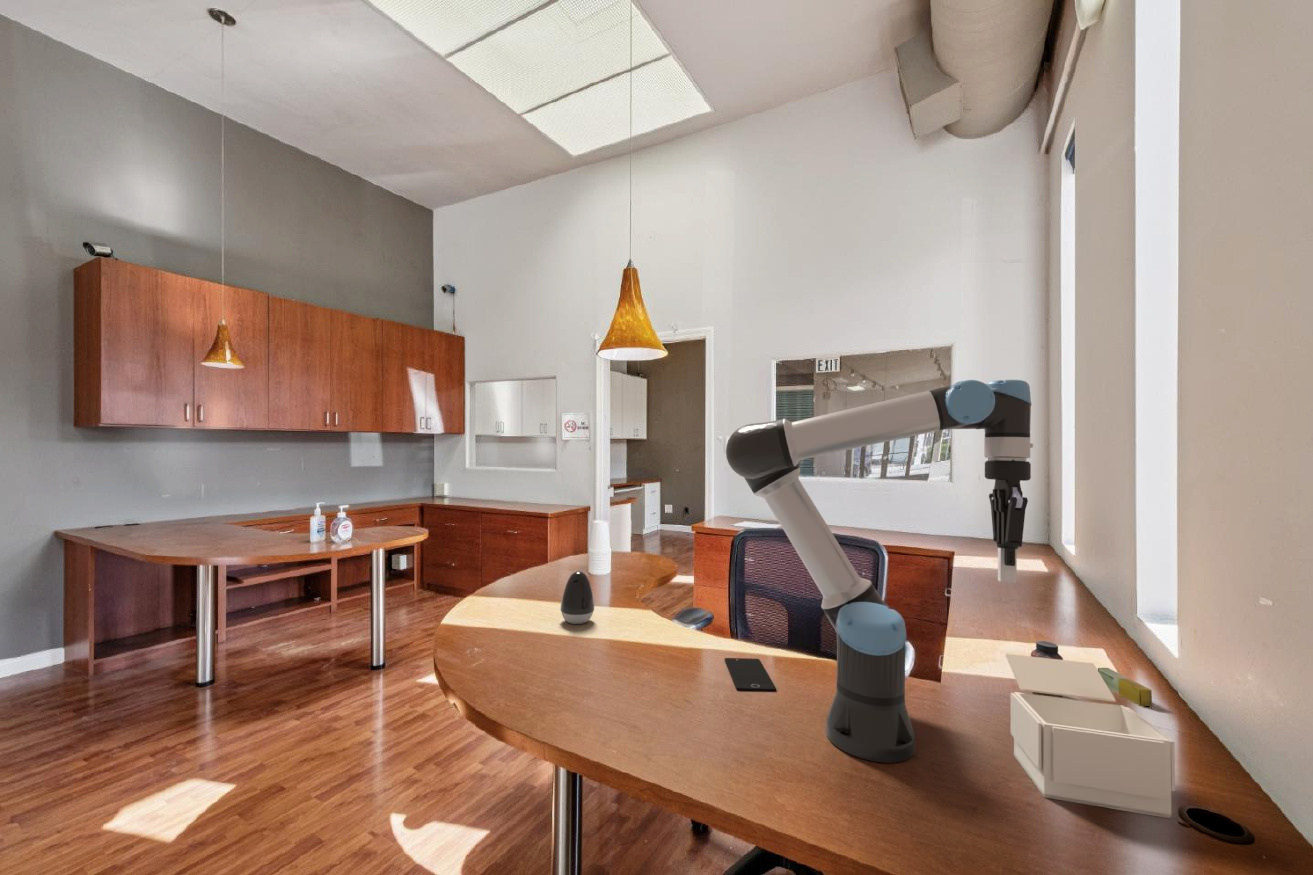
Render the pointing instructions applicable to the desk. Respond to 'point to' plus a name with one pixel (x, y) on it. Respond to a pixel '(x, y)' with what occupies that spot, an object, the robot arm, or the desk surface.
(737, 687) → the cell phone
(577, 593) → the black egg shaped device
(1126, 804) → the carton
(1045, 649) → the supplement bottle
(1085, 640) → the desk surface
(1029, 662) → the far flap
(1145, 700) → the medication box
